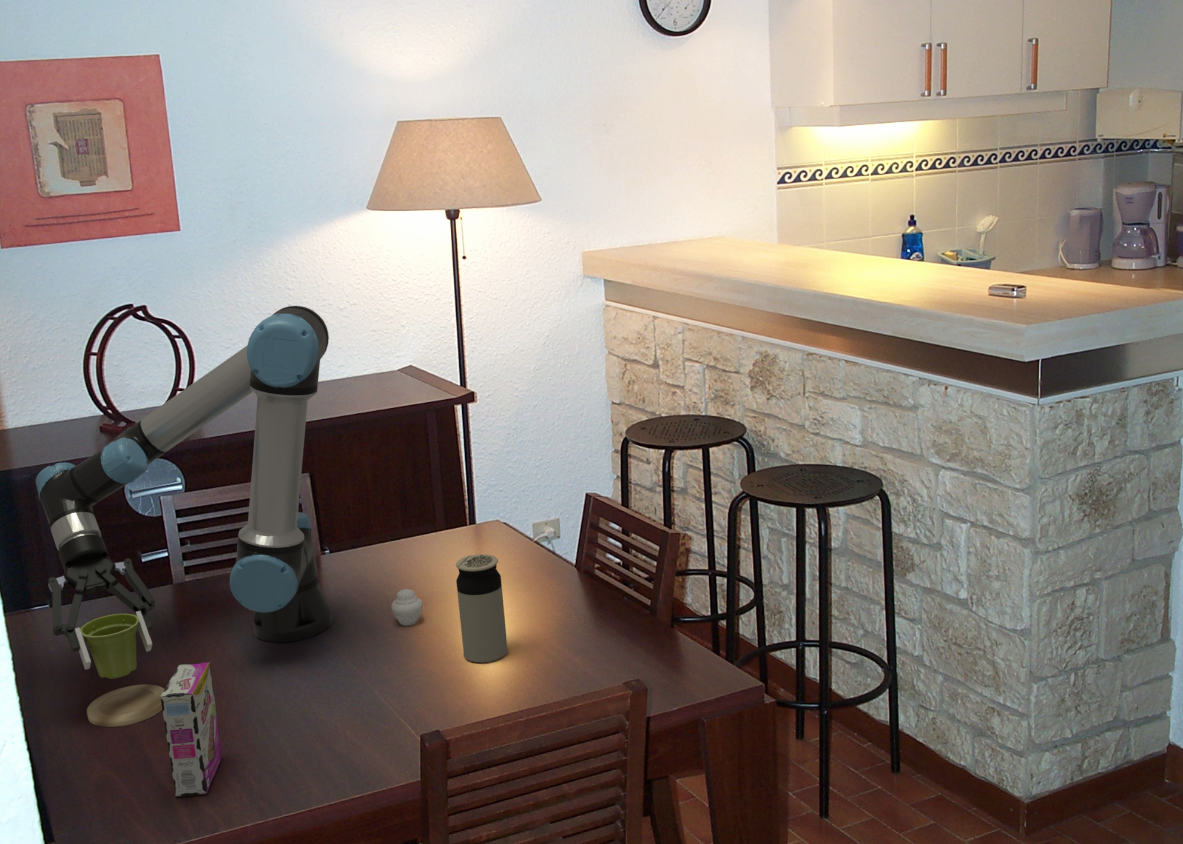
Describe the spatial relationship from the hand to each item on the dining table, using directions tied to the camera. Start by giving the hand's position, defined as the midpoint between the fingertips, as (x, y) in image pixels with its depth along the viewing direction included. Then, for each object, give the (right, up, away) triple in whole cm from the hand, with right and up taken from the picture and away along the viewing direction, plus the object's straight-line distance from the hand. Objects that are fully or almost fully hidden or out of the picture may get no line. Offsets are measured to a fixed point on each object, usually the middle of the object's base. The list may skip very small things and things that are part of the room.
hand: (119, 656), depth 200 cm
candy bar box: (+20, -15, -19) cm, 31 cm away
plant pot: (-2, -3, +4) cm, 5 cm away
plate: (0, -10, +5) cm, 11 cm away
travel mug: (+60, -3, +17) cm, 62 cm away
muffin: (+44, 0, +33) cm, 55 cm away
